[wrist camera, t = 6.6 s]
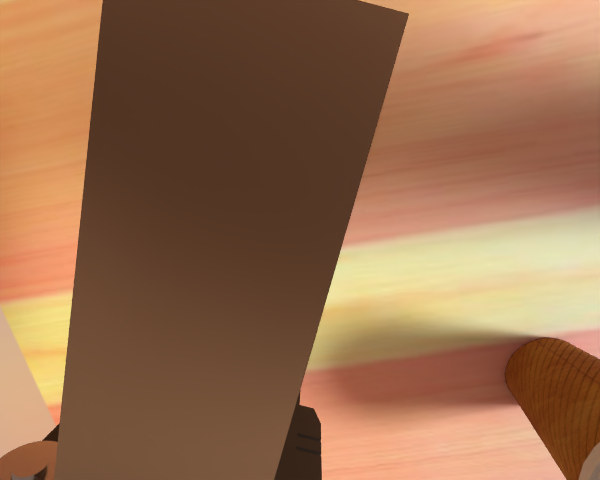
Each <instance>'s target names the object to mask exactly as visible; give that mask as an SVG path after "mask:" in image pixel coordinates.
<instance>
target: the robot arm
mask: <svg viewBox="0 0 600 480" xmlns="http://www.w3.org/2000/svg"><path fill="white" fill-rule="evenodd" d="M299 403H300V392H299V395H298V399H297V402H296V406H295V409H294V413H293V416H292V419H291V423H290V426H289V430H288V433H287V437H286V440H285V444H284V447H283V450H282V454H281V457H280V461H279V464H278V468H277V471H276V475H275V478H274V480H322V470H321V423H320V421H319V419H318V417H317V415H316V412H315V410H314V409H313V408H309V407H305V406H301V405H299ZM59 425H60V423H59V424H58V425H57V426H56V427H55V428H54V430H53V431H51V432H50V433H49V434H48V435H47V437H45V439H44V440H42V441H37V442H33V443H29V444H26V445H23V446H20V447H18V448H16V449H14V450H12V451H10V452H8V453H7V454H6V455H4V456H3V457H1V458H0V480H54V474H55V464H56V454H57V445H58V435H59Z"/></svg>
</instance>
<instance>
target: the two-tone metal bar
mask: <svg viewBox="0 0 600 480" xmlns="http://www.w3.org/2000/svg"><path fill="white" fill-rule="evenodd" d="M408 15H409V14H408V13H404V12H400V11H397V10H393V9H389V8H385V7H381V6H378V5H374V4H370V3H366V2H362V1H359V0H103V4H102V13H101V23H100V33H99V43H98V53H97V62H96V72H95V82H94V92H93V102H92V111H91V121H90V131H89V141H88V151H87V160H86V170H85V180H84V190H83V200H82V209H81V219H80V229H79V239H78V249H77V258H76V268H75V278H74V288H73V298H72V307H71V317H70V327H69V337H68V347H67V356H66V366H65V376H64V386H63V396H62V405H61V415H60V425H59V435H58V445H57V454H56V464H55V474H54V480H274V478H275V475H276V471H277V468H278V464H279V461H280V457H281V454H282V450H283V447H284V444H285V440H286V437H287V433H288V430H289V426H290V423H291V419H292V416H293V413H294V409H295V406H296V402H297V399H298V395H299V392H300V388H301V385H302V381H303V378H304V375H305V371H306V368H307V364H308V361H309V357H310V354H311V350H312V347H313V343H314V340H315V337H316V333H317V330H318V326H319V323H320V319H321V316H322V312H323V309H324V305H325V302H326V299H327V295H328V292H329V288H330V285H331V281H332V278H333V274H334V271H335V267H336V264H337V261H338V257H339V254H340V250H341V247H342V243H343V240H344V236H345V233H346V229H347V226H348V223H349V219H350V216H351V212H352V209H353V205H354V202H355V198H356V195H357V191H358V188H359V185H360V181H361V178H362V174H363V171H364V167H365V164H366V160H367V157H368V153H369V150H370V147H371V143H372V140H373V136H374V133H375V129H376V126H377V122H378V119H379V115H380V112H381V109H382V105H383V102H384V98H385V95H386V91H387V88H388V84H389V81H390V77H391V74H392V71H393V67H394V64H395V60H396V57H397V53H398V50H399V46H400V43H401V39H402V36H403V33H404V29H405V26H406V22H407V19H408Z"/></svg>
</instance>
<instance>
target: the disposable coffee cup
mask: <svg viewBox="0 0 600 480" xmlns="http://www.w3.org/2000/svg"><path fill="white" fill-rule="evenodd" d="M505 376H506V383H507V386H508V388H509V390H510V391H511V393H512V394H513V396H514V397H515V399H516V400H517V402H518V404H519V405H520V407H521V408H522V410H523V411H524V413H525V415H526V416H527V418H528V419H529V421H530V422H531V424H532V426H533V427H534V429H535V430H536V432H537V434H538V435H539V437H540V438H541V440H542V441H543V443H544V445H545V446H546V448H547V449H548V451H549V452H550V454H551V456H552V457H553V459H554V460H555V462H556V464H557V465H558V467H559V468H560V470H561V471H562V473H563V474H564V476H565V477H566V479H567V480H600V359H598V358H597V357H595V356H592V355H590V354H589V353H587V352H584V351H583V350H581V349H579V348H576V347H575V346H573V345H571V344H570V343H568V342H566V341H563V340H560V339H555V338H543V339H538V340H535V341H532V342H529V343H527V344H525V345H524V346H522V347H521V348H520V349H518V350H517V351H516V352H515V353H514V354H513V356H512V357H511V359H510V360H509V362H508V365H507V368H506V373H505Z"/></svg>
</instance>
